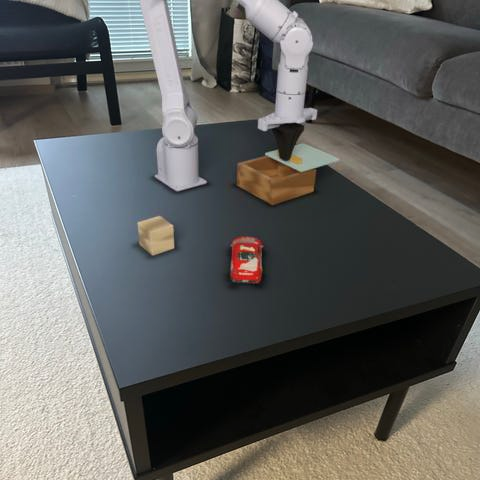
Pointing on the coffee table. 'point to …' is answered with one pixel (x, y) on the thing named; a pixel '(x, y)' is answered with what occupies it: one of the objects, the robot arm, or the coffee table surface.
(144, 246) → the block
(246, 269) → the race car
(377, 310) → the coffee table surface
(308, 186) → the case
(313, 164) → the lid with orange handle
